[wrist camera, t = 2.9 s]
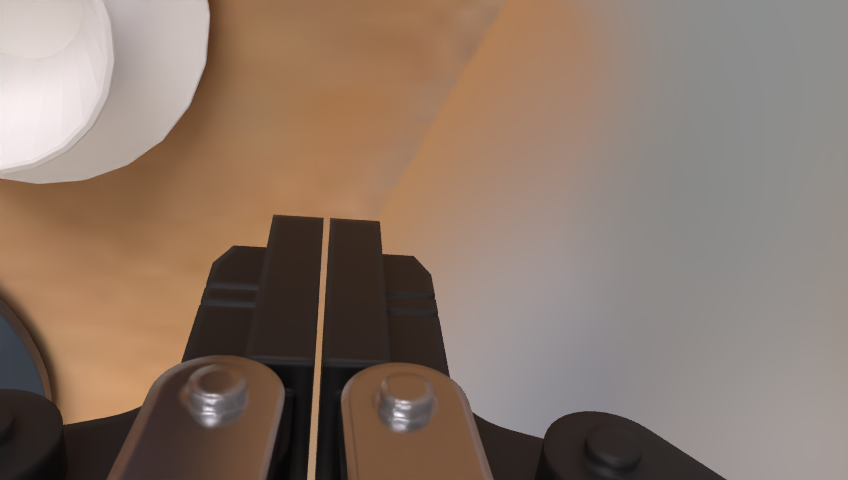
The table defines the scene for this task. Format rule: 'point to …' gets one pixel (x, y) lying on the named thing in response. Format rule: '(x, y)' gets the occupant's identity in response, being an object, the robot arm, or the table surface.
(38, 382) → the plate
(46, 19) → the teacup
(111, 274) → the table surface
